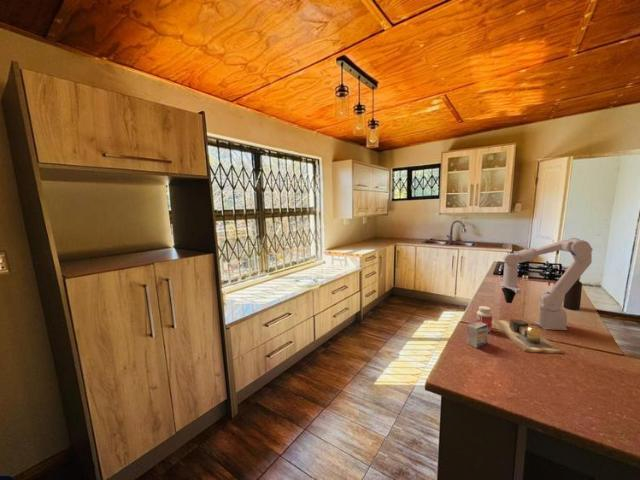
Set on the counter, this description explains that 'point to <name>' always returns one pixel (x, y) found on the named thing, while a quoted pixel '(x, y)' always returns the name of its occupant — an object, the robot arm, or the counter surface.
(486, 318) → the pill bottle
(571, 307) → the vinegar
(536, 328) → the cylinder
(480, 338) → the medicine box
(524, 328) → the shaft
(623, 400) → the counter surface
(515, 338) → the clamp jig
